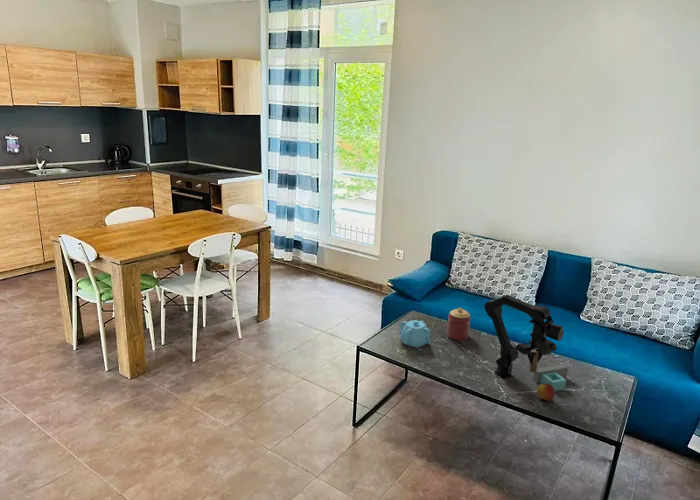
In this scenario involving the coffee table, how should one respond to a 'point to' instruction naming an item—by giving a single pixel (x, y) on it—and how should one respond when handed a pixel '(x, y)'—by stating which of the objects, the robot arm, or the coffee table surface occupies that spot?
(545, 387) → the apple
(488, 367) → the coffee table surface
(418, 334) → the decorative pot
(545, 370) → the wall
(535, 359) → the dowel
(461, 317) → the canister
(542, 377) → the holed block
